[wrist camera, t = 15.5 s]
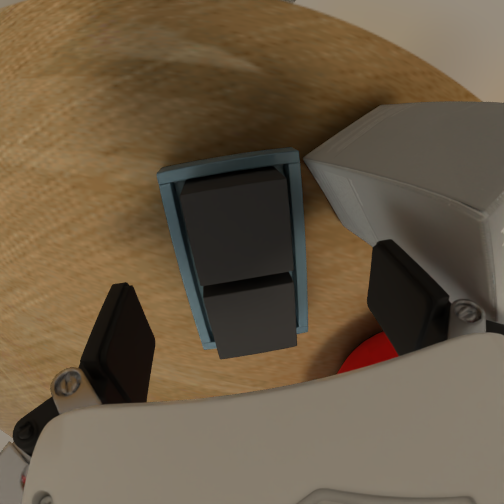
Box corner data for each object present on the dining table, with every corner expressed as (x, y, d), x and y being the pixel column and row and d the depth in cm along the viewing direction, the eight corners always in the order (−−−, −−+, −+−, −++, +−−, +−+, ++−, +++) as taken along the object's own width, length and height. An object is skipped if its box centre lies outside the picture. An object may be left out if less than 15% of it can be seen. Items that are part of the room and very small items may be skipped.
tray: (161, 167, 19) (155, 173, 17) (291, 147, 20) (299, 150, 18) (204, 334, 26) (203, 350, 24) (302, 317, 27) (308, 332, 25)
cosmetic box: (339, 224, 22) (484, 365, 8) (293, 147, 19) (481, 227, 5) (415, 169, 21) (577, 245, 7) (380, 92, 18) (576, 108, 4)
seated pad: (203, 267, 22) (202, 297, 19) (281, 254, 23) (294, 282, 19) (218, 326, 25) (220, 359, 22) (286, 314, 25) (297, 346, 22)
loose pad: (185, 179, 19) (179, 195, 16) (273, 165, 20) (286, 178, 16) (202, 257, 22) (200, 286, 18) (281, 244, 22) (294, 270, 19)
